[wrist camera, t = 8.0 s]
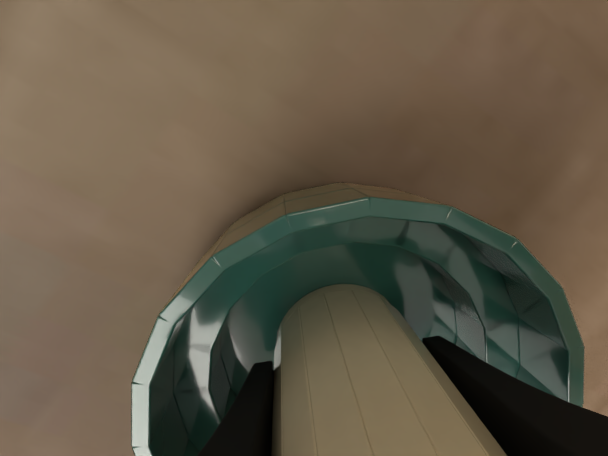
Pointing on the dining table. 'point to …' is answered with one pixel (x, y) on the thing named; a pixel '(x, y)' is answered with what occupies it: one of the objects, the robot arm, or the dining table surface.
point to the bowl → (346, 270)
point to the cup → (364, 384)
